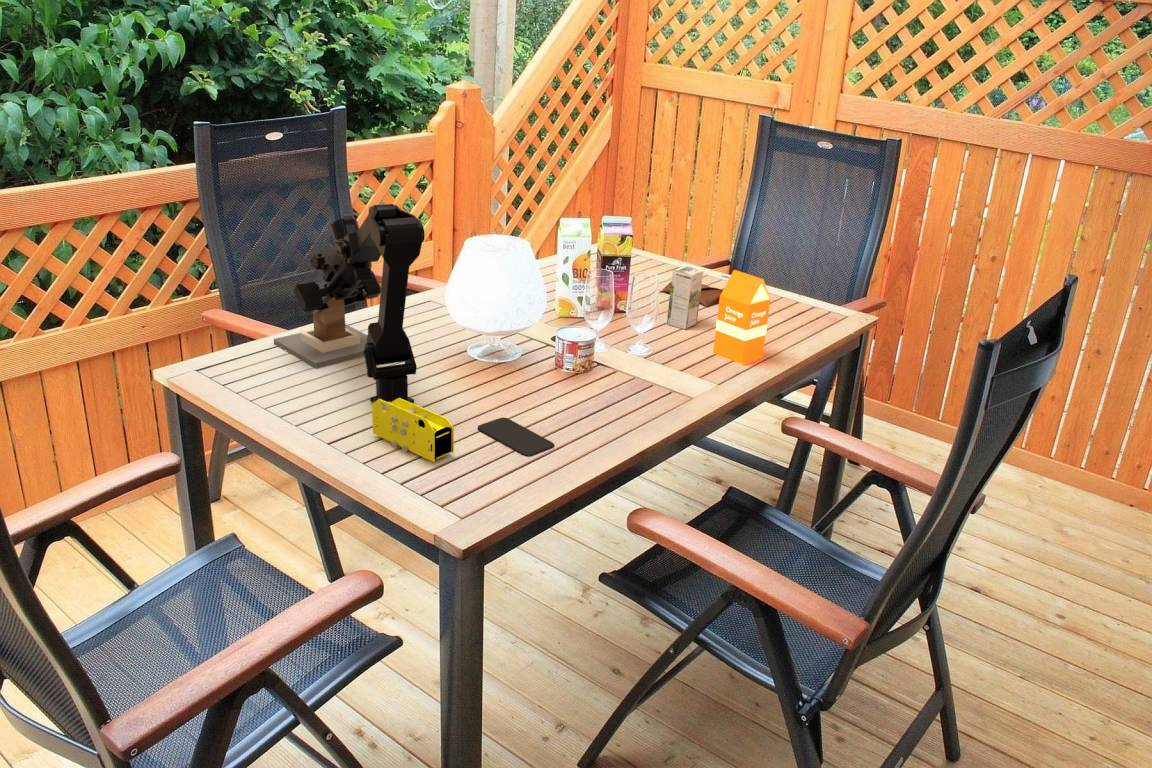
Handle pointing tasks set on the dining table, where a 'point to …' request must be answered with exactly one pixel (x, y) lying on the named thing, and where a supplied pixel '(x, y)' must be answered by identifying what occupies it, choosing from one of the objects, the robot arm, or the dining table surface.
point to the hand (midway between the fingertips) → (325, 308)
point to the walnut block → (330, 321)
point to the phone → (515, 437)
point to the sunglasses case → (703, 295)
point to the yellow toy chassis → (413, 428)
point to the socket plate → (324, 347)
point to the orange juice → (742, 318)
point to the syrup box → (684, 297)
